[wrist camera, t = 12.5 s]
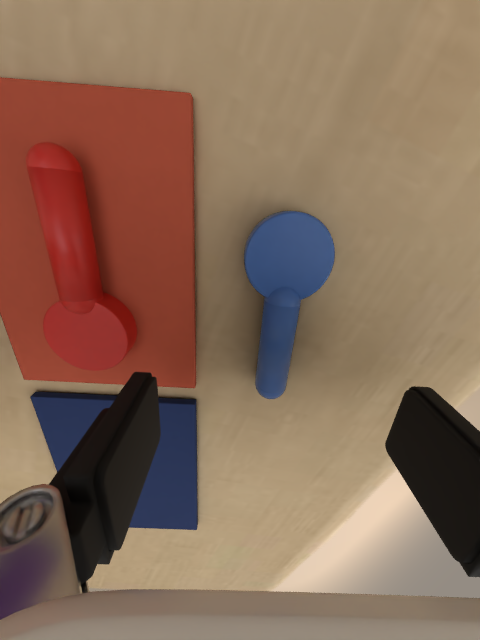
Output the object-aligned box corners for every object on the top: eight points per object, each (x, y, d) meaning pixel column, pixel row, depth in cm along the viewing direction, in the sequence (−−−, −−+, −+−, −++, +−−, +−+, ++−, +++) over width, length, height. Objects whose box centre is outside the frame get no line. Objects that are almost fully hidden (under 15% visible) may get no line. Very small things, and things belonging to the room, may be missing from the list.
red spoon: (13, 144, 8) (-30, 132, 7) (116, 151, 8) (92, 141, 7) (68, 356, 11) (46, 375, 10) (141, 359, 11) (128, 379, 10)
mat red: (-73, 76, 8) (-89, 69, 7) (193, 97, 8) (190, 91, 7) (30, 374, 12) (23, 380, 12) (196, 383, 12) (195, 388, 12)
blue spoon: (299, 386, 12) (306, 407, 11) (235, 383, 12) (234, 404, 11) (334, 213, 9) (350, 215, 8) (247, 207, 9) (248, 208, 8)
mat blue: (35, 391, 13) (29, 396, 12) (196, 399, 13) (195, 404, 12) (79, 518, 17) (76, 525, 17) (197, 523, 17) (196, 530, 17)
